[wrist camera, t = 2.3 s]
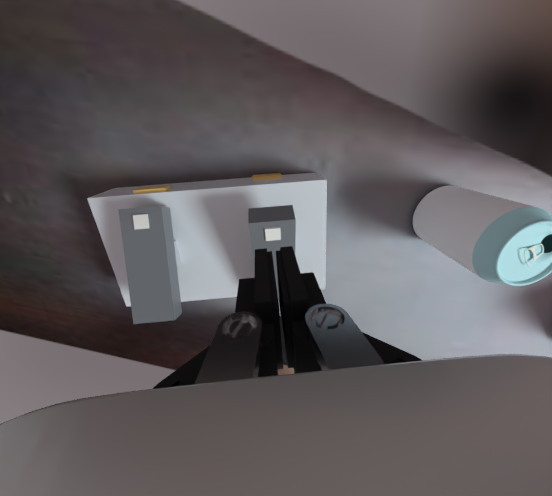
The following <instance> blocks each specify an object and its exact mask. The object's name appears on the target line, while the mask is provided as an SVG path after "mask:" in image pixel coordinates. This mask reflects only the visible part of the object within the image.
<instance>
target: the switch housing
mask: <svg viewBox="0 0 552 496" xmlns="http://www.w3.org/2000/svg"><path fill="white" fill-rule="evenodd" d="M87 200H88V202H89V205H90V208H91V211H92V213H93V216H94V219H95V222H96V224H97V227H98V230H99V232H100V235H101V238H102V241H103V243H104V246H105V249H106V252H107V254H108V257H109V260H110V263H111V265H112V268H113V271H114V274H115V276H116V279H117V282H118V285H119V287H120V290H121V293H122V296H123V298H124V301H125V304H126V306H127V307H128V306H131V302H130V294H129V287H128V279H127V272H126V264H125V256H124V249H123V241H122V234H121V226H120V219H119V211H118V209H129V208H141V207H154V206H164V207H169V208H170V212H171V220H172V229H173V237H174V246H175V255H176V263H177V272H178V281H179V289H180V298H181V302H184V301H195V300H206V299H217V298H228V297H237V292H238V284H239V279H245V278H254V277H255V265H254V258H253V251H252V244H251V237H250V231H249V224H248V208H260V207H272V206H285V205H293V210H294V214H295V219H296V236H295V257H296V260H297V263H298V266H299V269H300V273H310V272H313V273H314V275H315V277H316V280H317V282H318V285H319V287H320V289H325V283H326V205H327V179H325V178H324V177H322V176H321V175H319V174H318V173H316V172H314V173H301V174H288V175H281V173H273V174H260V175H253V176H252V177H249V178H236V179H223V180H210V181H197V182H184V183H171V184H158V185H145V186H132V187H119V188H113V189H111V190H108V191H105V192H102V193H100V194H97V195H94V196H92V197H89V198H87Z"/></svg>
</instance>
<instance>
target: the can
mask: <svg viewBox="0 0 552 496" xmlns="http://www.w3.org/2000/svg"><path fill="white" fill-rule="evenodd" d="M413 228H414V231H415V233H416V234H417V235H418V237H420V238H421V239H422V240H424V241H425V242H427V243H428V244H430V245H432V246H433V247H435V248H436V249H438V250H439V251H441V252H442V253H444V254H445V255H447V256H449V257H450V258H452V259H453V260H455V261H456V262H458V263H459V264H461V265H462V266H464V267H466V268H467V269H469V270H470V271H472V272H473V273H475V274H476V275H478V276H479V277H481V278H483V279H484V280H487V281H490V282H494V283H505V284H508V285H511V286H524V285H528V284H532V283H534V282H537V281H539V280H541V279H543V278H544V277H546V276H547V275H549V274H550V273H551V272H552V215H551V214H550V213H548V212H547V211H545V210H543V209H541V208H537V207H534V206H530V205H526V204H522V203H518V202H515V201H511V200H507V199H503V198H500V197H496V196H492V195H488V194H484V193H481V192H477V191H473V190H469V189H465V188H462V187H458V186H452V185H448V186H442V187H439V188H437V189H435V190H433V191H431V192H430V193H428V194H427V195H426V196H425V197H424V198H423V199H422V200H421V201H420V203H419V204H418V206H417V208H416V210H415V212H414V216H413Z"/></svg>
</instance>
